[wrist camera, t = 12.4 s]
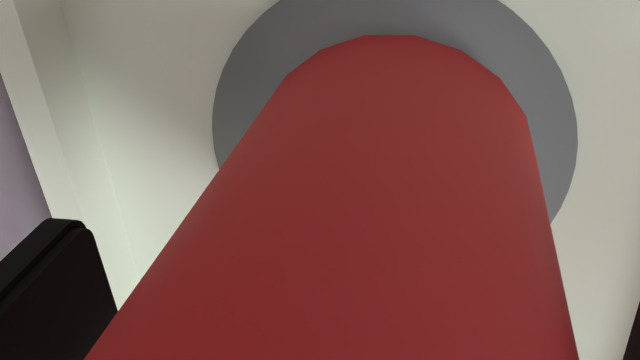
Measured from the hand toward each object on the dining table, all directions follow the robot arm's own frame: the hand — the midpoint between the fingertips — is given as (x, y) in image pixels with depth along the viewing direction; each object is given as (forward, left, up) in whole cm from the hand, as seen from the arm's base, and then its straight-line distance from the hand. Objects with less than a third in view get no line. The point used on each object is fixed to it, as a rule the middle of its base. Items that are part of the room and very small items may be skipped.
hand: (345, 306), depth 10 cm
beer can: (0, 0, -6) cm, 6 cm away
